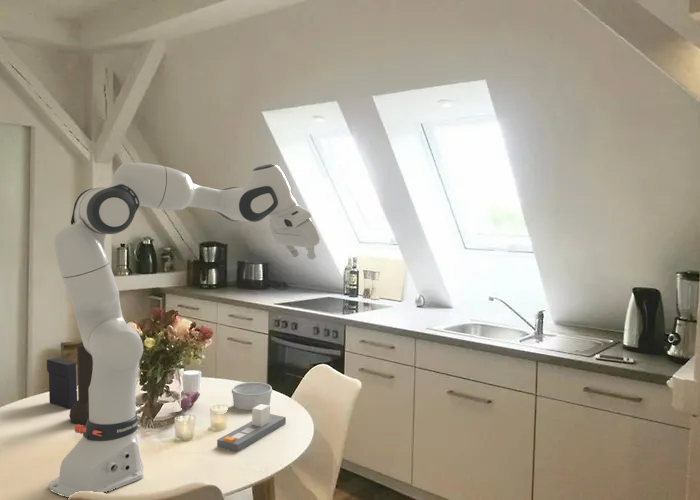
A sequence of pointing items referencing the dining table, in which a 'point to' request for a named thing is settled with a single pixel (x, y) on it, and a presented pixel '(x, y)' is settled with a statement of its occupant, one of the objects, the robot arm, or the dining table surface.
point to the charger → (261, 415)
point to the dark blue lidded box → (62, 382)
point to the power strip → (249, 434)
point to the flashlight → (82, 387)
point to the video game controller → (189, 400)
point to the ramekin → (251, 395)
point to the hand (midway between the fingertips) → (304, 257)
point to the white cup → (191, 380)
